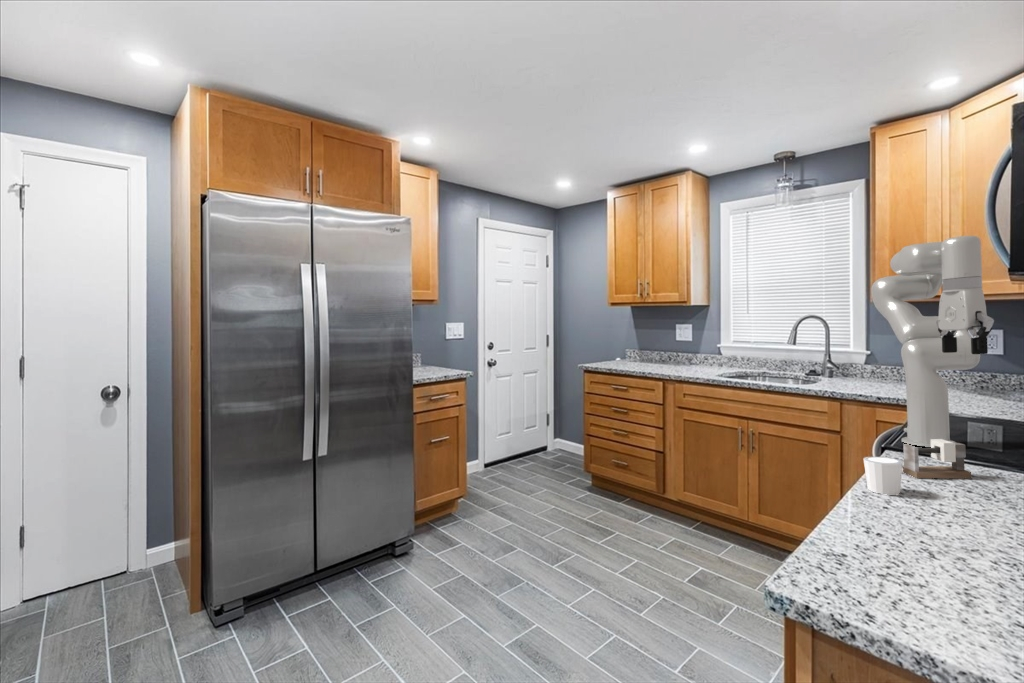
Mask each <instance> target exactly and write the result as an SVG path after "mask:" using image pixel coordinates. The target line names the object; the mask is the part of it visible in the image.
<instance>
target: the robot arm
mask: <svg viewBox="0 0 1024 683" xmlns="http://www.w3.org/2000/svg"><path fill="white" fill-rule="evenodd" d="M982 262H983V261H982V243H981V238H980V237H979V236H977V235H964V236H963V235H961V236H955V237H949V238H947V239H945V240H943V241H935V242H934V241H933V242H924V243H915V244H910V245H907V246H906V245H905V246H903V247H902V248H901V250H899V251H898V252H897V253H895V254H894V255H892V258H891V259H890V264H889V266H890V269H891V270H892V271H893V272H894V273H895V274H897V275H888V276H885V277H880V278H878V279H876V280H875V281H874V282H873V283H872V285H871V288H870V293H871V299H872V302H873V304H874V307H875V308H876V310H877V311H878V313H879V314H881V316H883V317H884V319H886V321H888V324H889V326H890V327H891V329H892V330H893V334H894V335H895V337H896V338H897V340H898V341H899V343H900V344H902V347H901V349H900V356H901V360H902V364H903V368H904V376H905V390H906V416H907V419H906V420H907V426H906V427H904V428H903V432H905V433H906V435H907V436H905V437H902V438H901V443H902V442H904V443H907V444H911V445H917V446H925V447H931V439H943V440H946V441H950V442H953V443H957V442H956V441H955V440H951V439H950V434H951V433H950V410H949V409H950V408H949V406H950V405H949V404H950V402H949V388H948V384H947V382H946V381H945V380H944V379H943V377H941V376H940V374H938V371H963V370H966V371H967V370H972V369H974V368H975V367H976V366H978V364H979V363H980V361H981V355H987V354H988V353H989V352H988V350H989V349H988V338H989V337H990V333H991V332H992V330H993V328H992V327H993V325H994V322H995V320H994V318H993V317H990V316H988V314H987V305H986V298H985V294H984V290H983V272H982V271H983V268H982ZM941 288H942V292H941V293H940V298H939V305H938V316H937V315H933V316H931V315H930V316H928V315H927V316H926V315H925V316H924V315H923V314H922V313H921V312H920V310H919V309H918V308H917V307H916V306H915V305H913V304H911V303H910V302H906V301H915V300H929V299H932V298H934V297H936V296H937V294H938V293H939V292H940V290H941ZM904 443H903V444H904Z"/></svg>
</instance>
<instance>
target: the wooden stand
mask: <svg viewBox="0 0 1024 683" xmlns="http://www.w3.org/2000/svg"><path fill="white" fill-rule="evenodd" d="M902 444H903V445H902V446H903V466H902V473H903V472H904V473H903V474H905V473H906V474H905V475H907V474H909V475H911V476H910V477H912V476H913V477H912V478H914V477H915V478H914V479H916V478H928V479H929V480H931V479H932V478H933V480H934V478H943V479H945V478H946V480H947V479H949V478H953V479H957V478H958V479H960V480H961V479H964V478H965V479H967V480H968V479H971V480H972V472H971V471H969V470H967V469H966V468H965V458H966V457H967V455H966V452H967V451H966V444H964V443H961V442H956V443H955V452H956V462H951V466H949V465H948V466H946V465H945V466H942V465H941V466H939V465H938V466H936V465H935V466H934V465H933V466H920V465H919V463H920V462H919V460H920V459H919V454H931V453H940V448H922V447H915V446H912V445H909V444H904V443H902ZM909 475H908V476H909ZM928 479H927V480H928ZM958 479H957V480H958ZM949 480H950V479H949Z"/></svg>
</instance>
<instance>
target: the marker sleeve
mask: <svg viewBox="0 0 1024 683" xmlns="http://www.w3.org/2000/svg"><path fill="white" fill-rule="evenodd" d="M931 448H940V453H930V458H932V459H934V460H938V461H941V462H943V463H952V462H956V452H955V443H953V442H950V441H946V440H943V439H931Z"/></svg>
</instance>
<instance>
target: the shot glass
mask: <svg viewBox="0 0 1024 683" xmlns="http://www.w3.org/2000/svg"><path fill="white" fill-rule="evenodd" d="M863 465H864V472H865V479H866V486H867V490H868V489H869V490H871V491H873V492H876V493H881V494H887V495H896V494H899V493H900V494H901V485H902V475H903V474H902V473H903V461H902V460H900V459H897V458H892V457H886V456H864V457H863ZM900 494H899V495H900ZM887 495H886V496H887ZM896 496H897V495H896Z"/></svg>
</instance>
